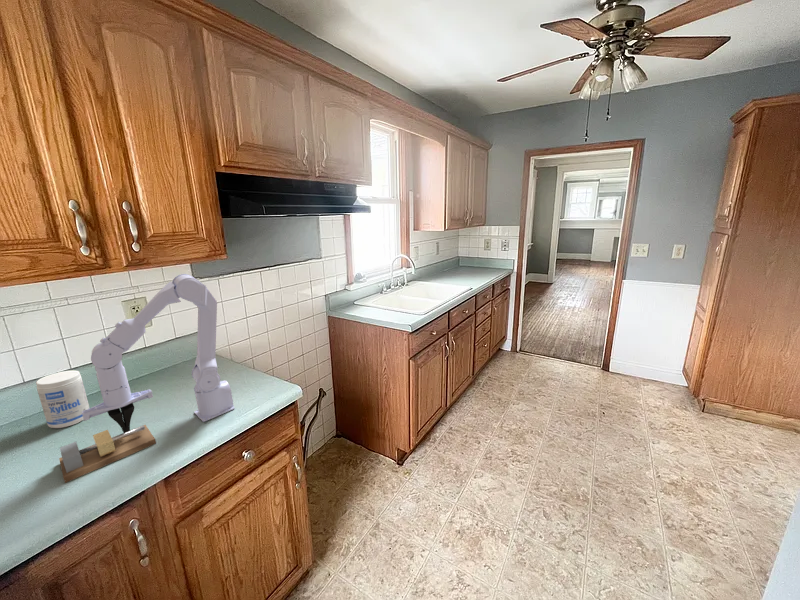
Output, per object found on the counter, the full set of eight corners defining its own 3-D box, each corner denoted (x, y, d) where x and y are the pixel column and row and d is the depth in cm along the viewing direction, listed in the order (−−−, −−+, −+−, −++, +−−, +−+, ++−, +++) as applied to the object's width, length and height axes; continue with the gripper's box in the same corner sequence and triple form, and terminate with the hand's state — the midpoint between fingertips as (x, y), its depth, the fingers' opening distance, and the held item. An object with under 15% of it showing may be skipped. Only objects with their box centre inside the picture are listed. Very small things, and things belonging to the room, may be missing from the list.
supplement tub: (55, 433, 96) (40, 388, 92) (43, 424, 100) (28, 380, 97) (97, 415, 104) (85, 373, 100) (84, 408, 109) (72, 367, 105)
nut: (110, 439, 90) (107, 429, 89) (115, 450, 85) (112, 440, 85) (95, 444, 88) (92, 435, 87) (100, 456, 83) (97, 446, 82)
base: (146, 428, 97) (142, 414, 96) (156, 443, 91) (152, 427, 90) (60, 463, 84) (55, 446, 83) (65, 483, 78) (59, 465, 76)
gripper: (143, 371, 96) (153, 413, 99) (75, 392, 85) (88, 437, 88) (150, 379, 91) (160, 422, 95) (79, 401, 81) (93, 449, 84)
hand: (126, 430), depth 91 cm, fingers closed
